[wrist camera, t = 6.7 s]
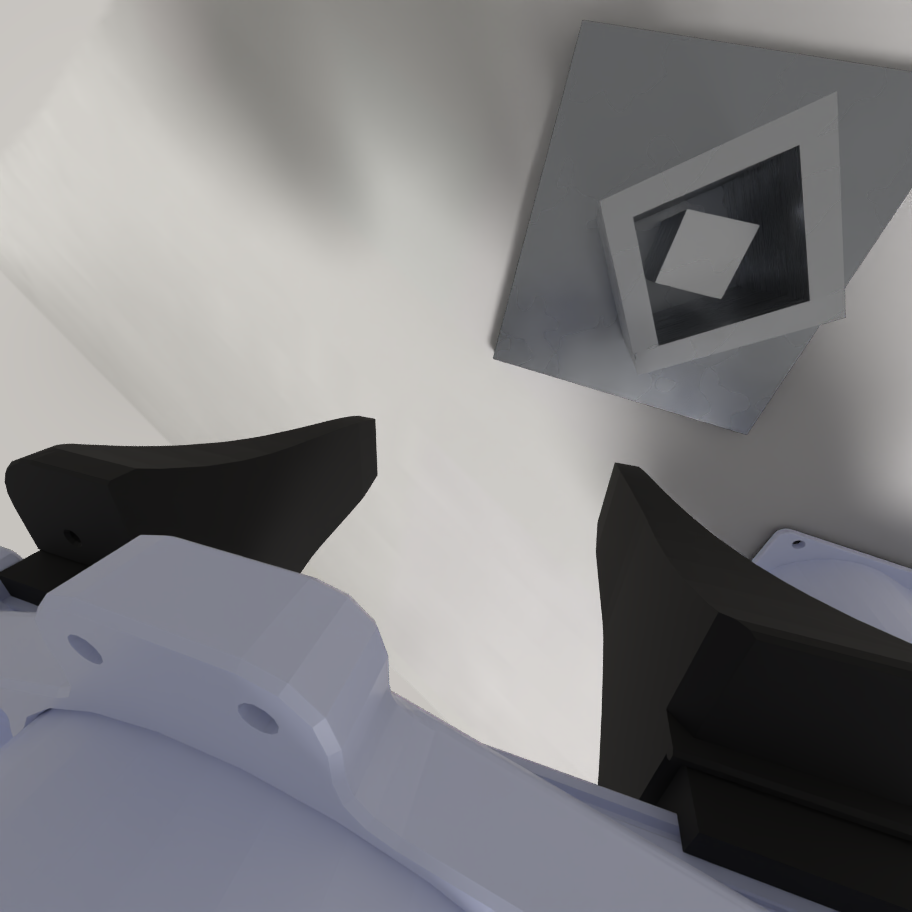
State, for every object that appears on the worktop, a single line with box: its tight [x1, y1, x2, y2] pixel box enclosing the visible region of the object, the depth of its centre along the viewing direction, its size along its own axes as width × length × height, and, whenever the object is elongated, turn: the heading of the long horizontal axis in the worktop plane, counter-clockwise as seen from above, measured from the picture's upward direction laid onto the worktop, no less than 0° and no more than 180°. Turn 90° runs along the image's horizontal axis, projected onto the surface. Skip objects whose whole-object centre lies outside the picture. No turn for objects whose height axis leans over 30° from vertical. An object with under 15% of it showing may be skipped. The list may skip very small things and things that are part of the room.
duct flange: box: [493, 20, 912, 435], centre depth 14 cm, size 12×12×5 cm
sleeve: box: [596, 91, 846, 375], centre depth 13 cm, size 5×5×6 cm
